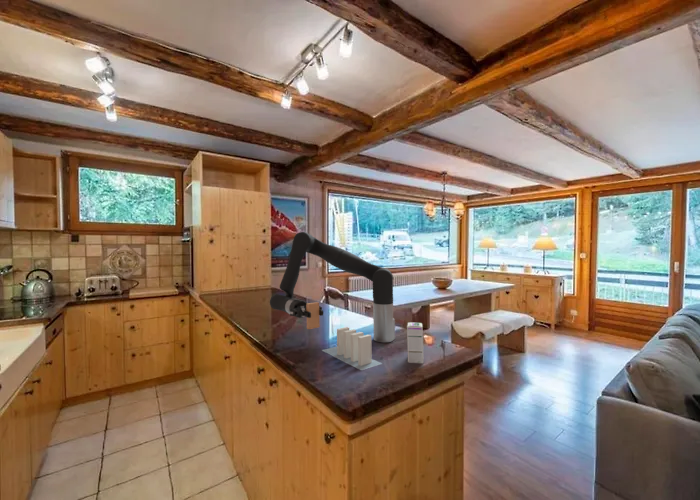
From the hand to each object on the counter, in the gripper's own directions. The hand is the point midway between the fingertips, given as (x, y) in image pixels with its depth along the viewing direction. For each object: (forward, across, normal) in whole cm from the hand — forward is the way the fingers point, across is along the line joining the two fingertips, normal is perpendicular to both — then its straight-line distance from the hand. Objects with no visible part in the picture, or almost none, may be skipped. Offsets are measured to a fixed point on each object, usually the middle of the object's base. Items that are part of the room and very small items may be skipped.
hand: (316, 314), depth 120 cm
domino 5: (+19, +9, +16) cm, 27 cm away
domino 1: (-3, 0, +6) cm, 7 cm away
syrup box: (+28, +26, +18) cm, 42 cm away
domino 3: (+10, +9, +16) cm, 21 cm away
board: (+10, +9, +17) cm, 22 cm away
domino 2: (+6, +9, +16) cm, 19 cm away
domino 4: (+15, +9, +16) cm, 24 cm away
